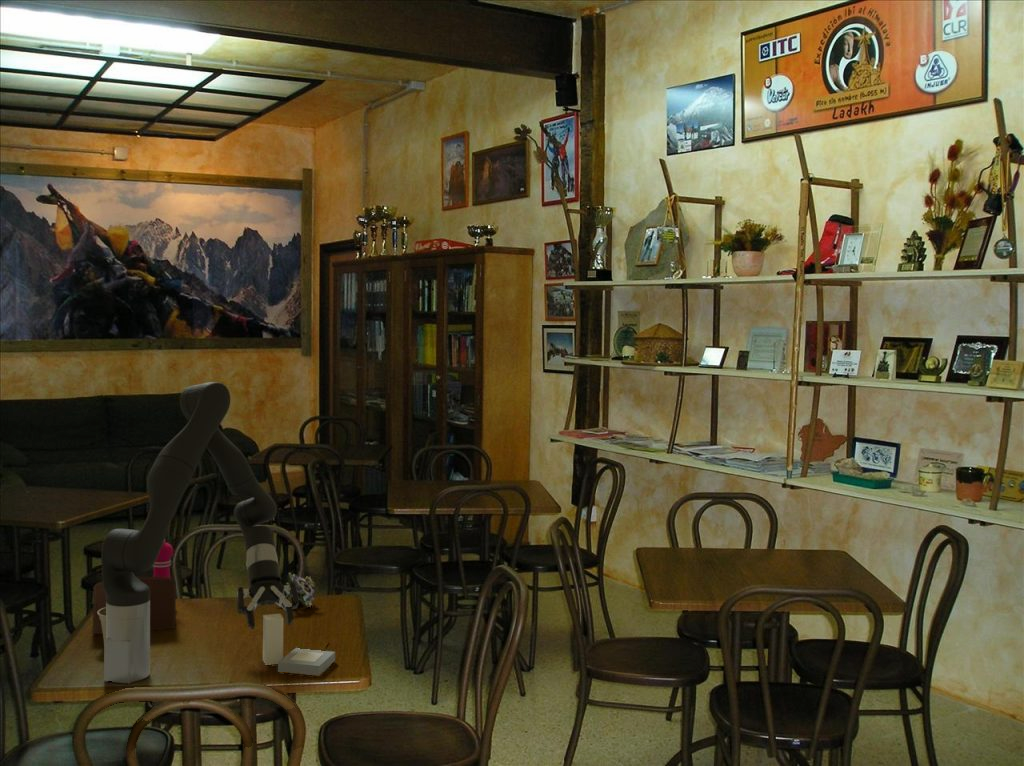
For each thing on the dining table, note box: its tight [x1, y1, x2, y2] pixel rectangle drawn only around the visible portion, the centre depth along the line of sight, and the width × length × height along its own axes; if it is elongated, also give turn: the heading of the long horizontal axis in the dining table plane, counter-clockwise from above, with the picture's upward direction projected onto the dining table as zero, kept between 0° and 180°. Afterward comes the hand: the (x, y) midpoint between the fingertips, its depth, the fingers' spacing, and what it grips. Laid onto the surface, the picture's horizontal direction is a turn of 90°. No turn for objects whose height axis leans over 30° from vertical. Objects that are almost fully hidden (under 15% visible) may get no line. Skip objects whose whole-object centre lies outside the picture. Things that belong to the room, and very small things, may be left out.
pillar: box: [262, 613, 285, 665], centre depth 238 cm, size 4×4×11 cm
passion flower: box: [282, 572, 316, 609], centre depth 283 cm, size 11×11×12 cm
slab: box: [277, 647, 336, 675], centre depth 235 cm, size 10×10×3 cm
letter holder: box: [92, 576, 177, 636], centre depth 261 cm, size 10×20×14 cm, turn 111°
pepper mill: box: [152, 538, 174, 578], centre depth 277 cm, size 7×7×20 cm
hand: (271, 625), depth 240 cm, fingers open, 8 cm apart
